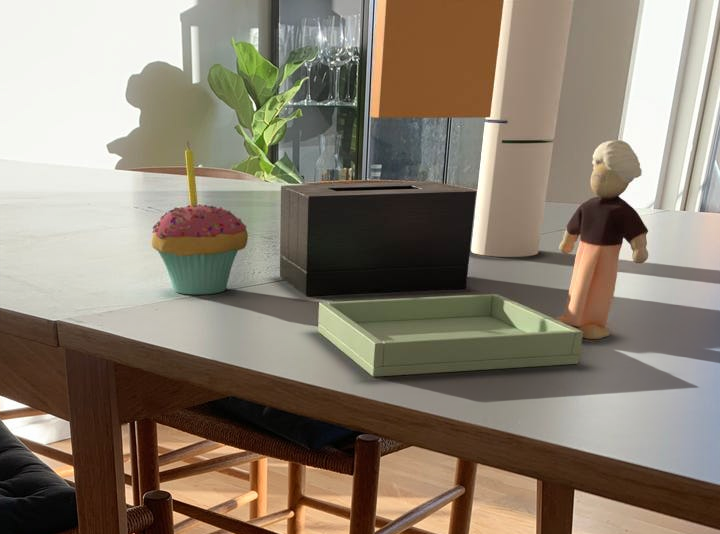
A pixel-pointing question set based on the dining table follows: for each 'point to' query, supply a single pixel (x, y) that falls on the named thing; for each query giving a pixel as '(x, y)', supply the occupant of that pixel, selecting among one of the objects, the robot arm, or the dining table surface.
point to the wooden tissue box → (375, 237)
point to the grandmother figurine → (602, 239)
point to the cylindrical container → (521, 127)
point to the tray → (446, 334)
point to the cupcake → (198, 242)
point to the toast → (435, 58)
